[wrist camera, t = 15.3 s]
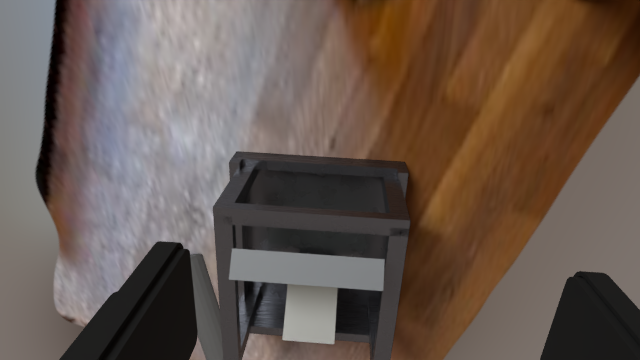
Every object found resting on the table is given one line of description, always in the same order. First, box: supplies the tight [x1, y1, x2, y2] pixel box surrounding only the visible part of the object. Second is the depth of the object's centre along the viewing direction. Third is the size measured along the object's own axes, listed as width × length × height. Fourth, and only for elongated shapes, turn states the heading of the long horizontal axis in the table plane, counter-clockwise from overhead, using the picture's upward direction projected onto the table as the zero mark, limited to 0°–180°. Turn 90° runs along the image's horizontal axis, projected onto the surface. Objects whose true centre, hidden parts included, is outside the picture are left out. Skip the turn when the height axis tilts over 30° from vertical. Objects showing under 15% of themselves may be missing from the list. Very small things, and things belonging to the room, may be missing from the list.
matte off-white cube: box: [282, 284, 338, 344], centre depth 44 cm, size 5×5×6 cm
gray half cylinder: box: [190, 254, 223, 360], centre depth 53 cm, size 4×20×2 cm, turn 9°
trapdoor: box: [229, 248, 385, 291], centre depth 40 cm, size 12×13×2 cm
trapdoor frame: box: [213, 152, 410, 360], centre depth 42 cm, size 17×19×11 cm
